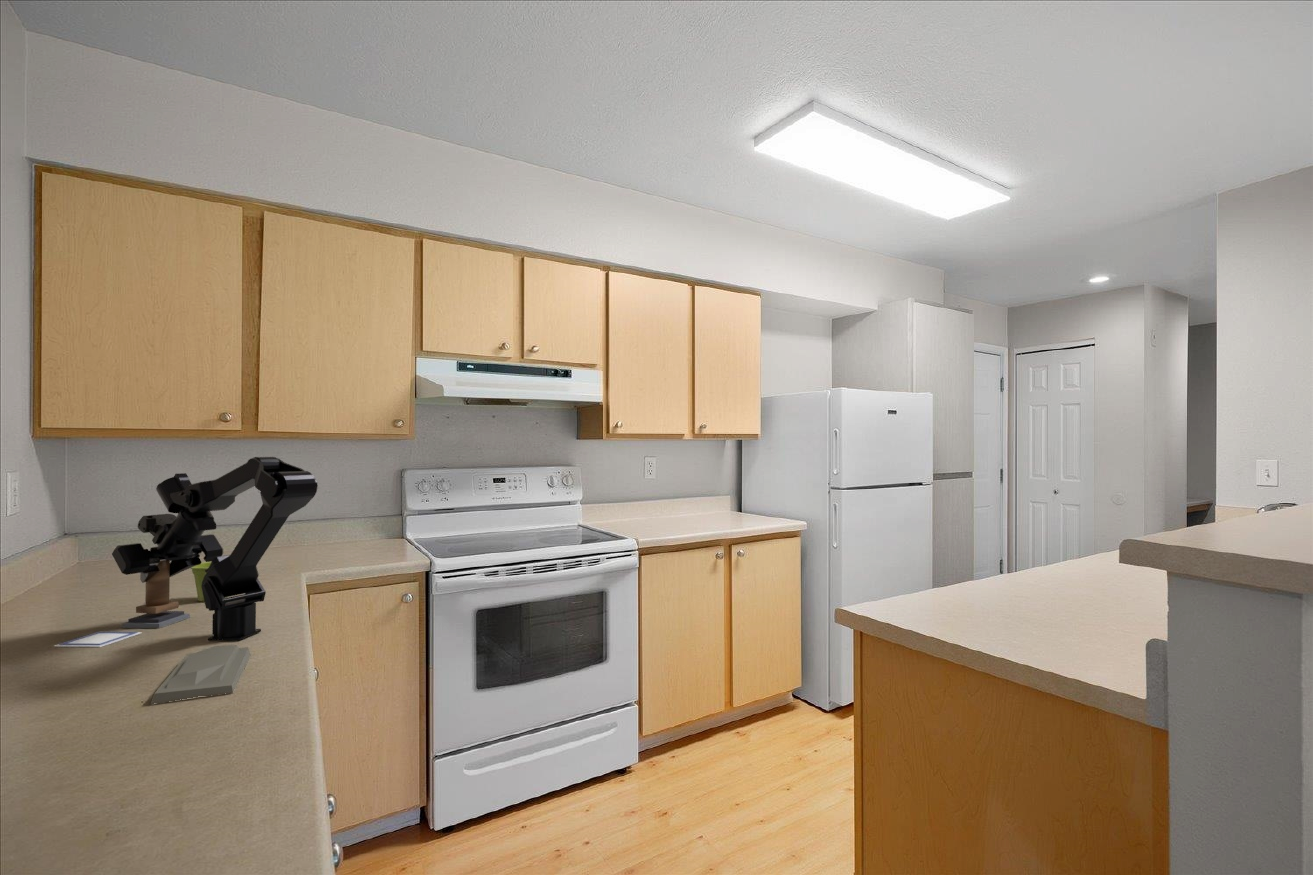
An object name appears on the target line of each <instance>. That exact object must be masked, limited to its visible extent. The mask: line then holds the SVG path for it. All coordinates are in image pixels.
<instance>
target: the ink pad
mask: <svg viewBox="0 0 1313 875" xmlns="http://www.w3.org/2000/svg"><path fill="white" fill-rule="evenodd" d="M190 616H191V614H190V613H185V611H183V610H168V611H164V612H161V613H157V614H149V613H143V614H140V615H138V616H134V617H132V618H131V617H129V618H128V620H127V621H125V622H122V623H121V628H122V629H124V628H125V629H129V628H130V629H160V628H164V627H167V626H169V625H173V624H175V623H178V622H181V621H184V620H187V619H190V618H191V617H190Z"/></svg>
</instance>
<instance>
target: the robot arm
mask: <svg viewBox="0 0 1313 875" xmlns="http://www.w3.org/2000/svg"><path fill="white" fill-rule="evenodd" d="M187 474H188V473H184V472H183V473H175V474H174V476H172V477H169V478H167V479H164V480H163V481H161V482H159V483H158V484H157V485H156V488H155V489H156V490H155V491H156V492H157V494H158V496H159V498H160V499H161V501H162V503H163V504H164V507H165V509H167V512H168V513H162V514H151V515H142V517H141V518H140V519H139V521H138V523H137V529H138V530H140V532H142V533H143V534H147V533H150V535H152V536H153V537H152V539H151V541H152V542H153V544H154V545H157V546H152V547H150V548H149V549H148V548H144V546H143V545H142V543H141V542H140V543H139V542H135V543H126V544H119V545H116V546H115V548H114V550H113V551H112V552H111V556H112V557H113V559H114V560H115V563H116V565H117V567H118V568H119V570H120V572H121V574H123V575H126V576H128V575H133V574H134V575H135V574H140V575H139V576H140V579H139V580H140V582H141V583H142V584H144V583H146V581H147V580H149V579H150V578H151V577H152V576H154V575H155V574H156V573H157V572H159V571H160V570H159V568H158V566H157V564H158V563H159V562H160V561H163V560H166V561H170V578H171V577H174V576H176V575H178V574H179V573H183V572H184V571H187V570H189V569H191V567H194V566H196V565H200V564H201V563H202V560H201V559H200V556H201V555H202V553H203V554H204V557H203V558H202V559H203V560H204V561H205V562H211V564H210V566H209V568H208V569H206V570H205V572H206V574H205V576H204V578H203V581H202V585H201V587H202V592H203V597H204V601H203V602H204V604H205V605H204V606H205V608H206V610H207V609H208V612H211V611H212V612H213V611H214V613H213V614H212V621H211V622H212V631H211V632H212V636H209V637H207V640H208V641H231V642H232V641H233V642H234V641H242V640H244V639H246V638H248V637H250V636H254V635H256V634H258V633H260V632H262V629H261V628H257V627H256V626H257V623H256V622H257V621H256V620H257V614H256V613H257V603H258V602H264V600H265V597H266V593H267V592H266V590H265V588H264V587H263V585H262V583H261V581H260V580H259V576H260V575H259V574H260V573H259V571H258V567H257V565H258V564H259V562H260V561H261V559H262V558H263V556H264V555H265V553H266V552H267V550H268V548H269V547H270V546H271V544H272V542H273V541H274V539H275V538H276V536H277V535H278V534H279V532H280V530H281V529H282V527H283V526H284V525H285V523H286V521H287V520H288V518H289V516H291V515H292V514H294V513H296V512H297V511H299V510H301V509H303V508H304V507H306V506H307V505H308V504H309V502H311V501H312V500H313V498H315V496H316V494H317V492H318V481H317V479H316V477H315V476H314V475H313V474H312V472H311V471H308V470H304V469H303V468H301V467H298V466H295V465H292V464H289V463H287V462H285V461H283V460H282V459H280V458H278V457H275V456H255V457H252V458H249V459H248V460H247V462H245V463H243V464H242V465H239V466H238V467H236V468H234V469H232V470H230V471H228V472H227V473H225V474H223V475H221V476H219V477H218V478H216V479H213V480H212V479H211V480H205V481H199V482H196V483H192V482H191V480H190V478H189V476H188V475H187ZM253 487H254V488H256V489H257V490H258V491H259V492H260V498H261V502H262V504H261V507H260V508H259V509H258V511H257V512H256V514H255V516H254V517H253V519H252V520H251V522H250V523H249V525H248V526H247V528H246V530H245V532H244V533H243V535H242V536H241V538H240V539H239V541H238V542H237V544H236V545H235V547H234V548H233V550H232V552H231V553H230V554H227V555H226V554H225V555H223V554H224V548H223V547H222V545H221V543H220V541H219V540H218V538H217V537H216V535H214V534H212V533H211V534H210V533H209V534H204V532H205V531H212V530H213V531H214V530H216V529H217V523H216V521H215V518H214V515H213V513H212V512H217V511H225V510H227V509H228V508H229V507H230V506H232V504H234V503H236V502H235V501H236V497H237V496H239V495H240V494H242V493H244V492H246V491H248V490H249V489H252V488H253ZM175 514H177V515H175ZM225 597H227V598H225Z"/></svg>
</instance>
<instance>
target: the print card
mask: <svg viewBox="0 0 1313 875" xmlns="http://www.w3.org/2000/svg"><path fill="white" fill-rule="evenodd" d="M140 634H143V632H141V631H97V632H94V633H93V632H92V633H91V634H87V635H84V636H81V637H77V638H74V639H71V640H67V641H64V642H61V643H58V644H55V645H53V647H55V648H56V647H57V648H61V647H62V648H101V647H105V646H108V645H110V644H111V645H112V644H114V643H117V642H120V641H122V640H126V639H128V638H132V637H134V636H137V635H140Z"/></svg>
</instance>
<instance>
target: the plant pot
mask: <svg viewBox="0 0 1313 875" xmlns="http://www.w3.org/2000/svg"><path fill="white" fill-rule="evenodd" d="M211 562H212V561H210V562H206V561H205V562H201V564H200V565H196V566H194V567H191V568H190V569H191V572H192V574H193V577H194V582H195V588H196V593H197V600H198V601H199V602H204V597H203V592H202V587H201V585H202V581H203V578H204V576H205V574H206V572H205V570H206V569H208V568H209V566H210V564H211ZM225 598H228V597H225Z"/></svg>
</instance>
